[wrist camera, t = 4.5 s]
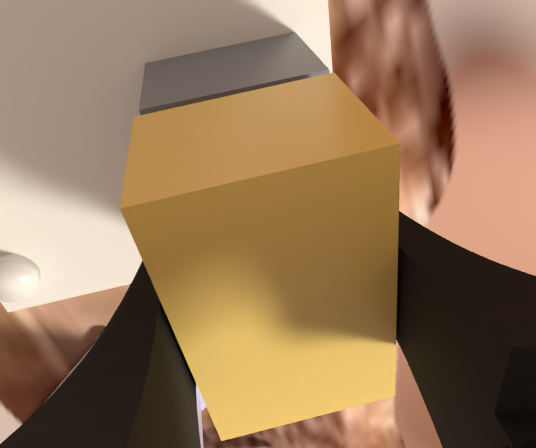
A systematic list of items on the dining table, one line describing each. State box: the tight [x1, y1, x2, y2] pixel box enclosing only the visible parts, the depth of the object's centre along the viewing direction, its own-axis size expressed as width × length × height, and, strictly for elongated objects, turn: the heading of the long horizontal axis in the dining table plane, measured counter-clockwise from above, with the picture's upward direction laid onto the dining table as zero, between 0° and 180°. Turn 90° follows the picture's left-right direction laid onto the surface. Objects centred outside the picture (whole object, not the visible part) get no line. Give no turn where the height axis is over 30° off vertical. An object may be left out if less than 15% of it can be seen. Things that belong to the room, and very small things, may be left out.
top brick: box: [120, 72, 400, 441], centre depth 12 cm, size 8×5×4 cm, turn 9°
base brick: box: [139, 32, 329, 115], centre depth 16 cm, size 8×5×4 cm, turn 8°
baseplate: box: [0, 0, 332, 312], centre depth 14 cm, size 20×15×2 cm
